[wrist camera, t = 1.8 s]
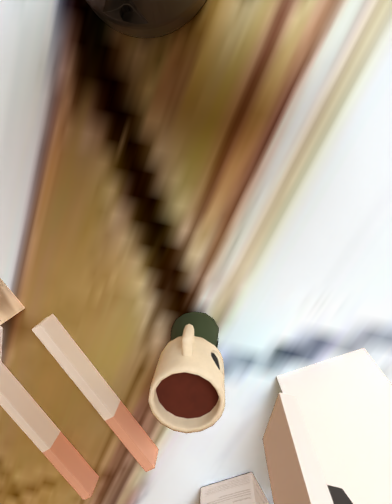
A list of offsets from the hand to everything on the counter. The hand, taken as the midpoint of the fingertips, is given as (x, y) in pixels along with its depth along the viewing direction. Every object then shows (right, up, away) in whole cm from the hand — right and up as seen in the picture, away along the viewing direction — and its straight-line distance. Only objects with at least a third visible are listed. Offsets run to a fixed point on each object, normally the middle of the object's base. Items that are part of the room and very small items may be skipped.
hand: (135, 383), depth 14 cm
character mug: (+3, -4, +26) cm, 26 cm away
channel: (-15, -16, +30) cm, 37 cm away
